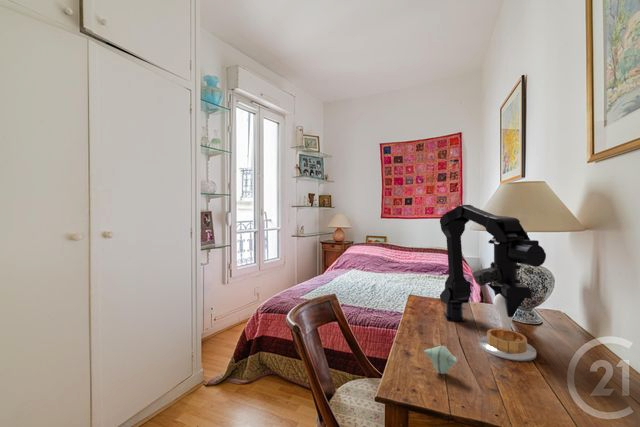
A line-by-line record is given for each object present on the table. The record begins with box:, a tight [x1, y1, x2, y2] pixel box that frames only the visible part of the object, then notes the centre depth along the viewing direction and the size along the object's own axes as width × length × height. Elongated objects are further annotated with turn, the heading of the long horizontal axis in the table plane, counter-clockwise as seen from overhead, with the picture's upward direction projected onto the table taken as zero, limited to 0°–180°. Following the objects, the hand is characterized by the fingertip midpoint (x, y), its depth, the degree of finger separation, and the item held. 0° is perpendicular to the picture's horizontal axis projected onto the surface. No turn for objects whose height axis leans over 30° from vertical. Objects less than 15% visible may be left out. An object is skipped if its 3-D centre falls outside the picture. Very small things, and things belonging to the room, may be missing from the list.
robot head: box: [423, 345, 458, 375], centre depth 72 cm, size 8×4×7 cm, turn 47°
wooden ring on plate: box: [478, 328, 537, 362], centre depth 84 cm, size 14×14×4 cm
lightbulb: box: [493, 294, 514, 331], centre depth 84 cm, size 6×6×11 cm
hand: (505, 313), depth 84 cm, fingers closed on lightbulb, 6 cm apart
